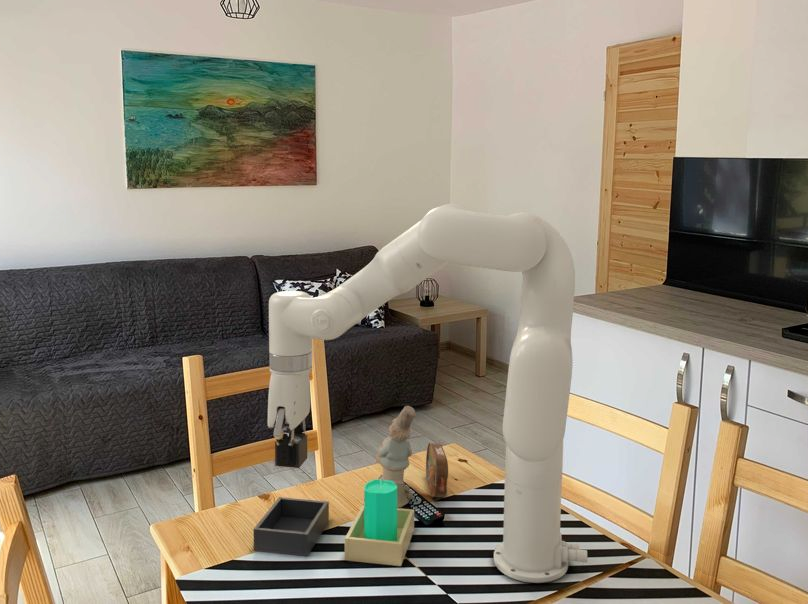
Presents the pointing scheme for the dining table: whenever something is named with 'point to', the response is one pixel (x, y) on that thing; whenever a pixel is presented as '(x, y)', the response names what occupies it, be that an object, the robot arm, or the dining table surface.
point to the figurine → (397, 454)
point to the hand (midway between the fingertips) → (291, 458)
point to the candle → (380, 510)
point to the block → (297, 450)
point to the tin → (436, 470)
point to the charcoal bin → (291, 526)
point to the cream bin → (379, 541)
